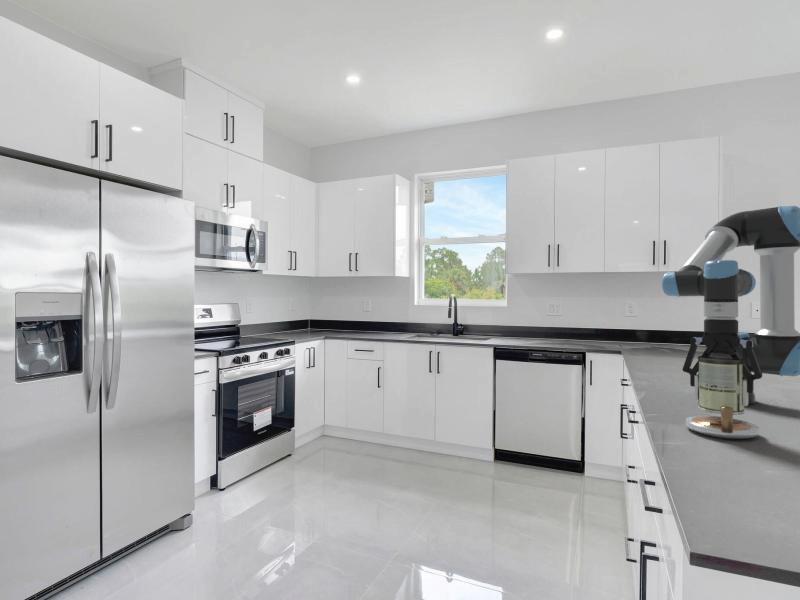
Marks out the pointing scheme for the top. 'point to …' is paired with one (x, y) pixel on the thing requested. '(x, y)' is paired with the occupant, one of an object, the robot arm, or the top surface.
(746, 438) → the turntable base
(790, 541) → the top surface
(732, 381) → the coffee can
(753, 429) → the turntable
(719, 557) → the top surface
